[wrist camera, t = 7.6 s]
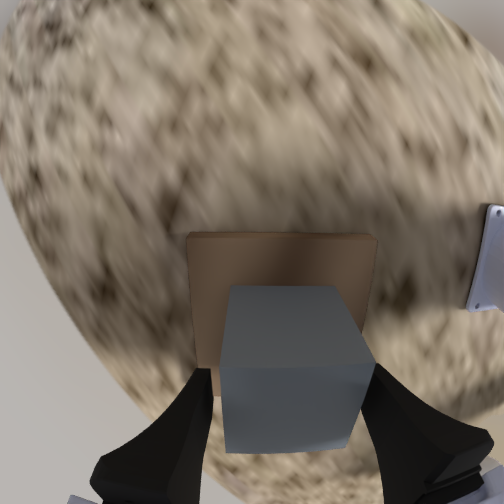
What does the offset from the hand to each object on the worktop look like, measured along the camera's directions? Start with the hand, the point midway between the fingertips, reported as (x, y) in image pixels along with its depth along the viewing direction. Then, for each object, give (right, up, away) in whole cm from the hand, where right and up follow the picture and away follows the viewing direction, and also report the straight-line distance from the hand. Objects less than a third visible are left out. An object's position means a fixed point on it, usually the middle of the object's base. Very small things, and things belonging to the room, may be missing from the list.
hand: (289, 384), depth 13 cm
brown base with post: (0, +2, +5) cm, 6 cm away
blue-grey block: (0, +2, +4) cm, 5 cm away
